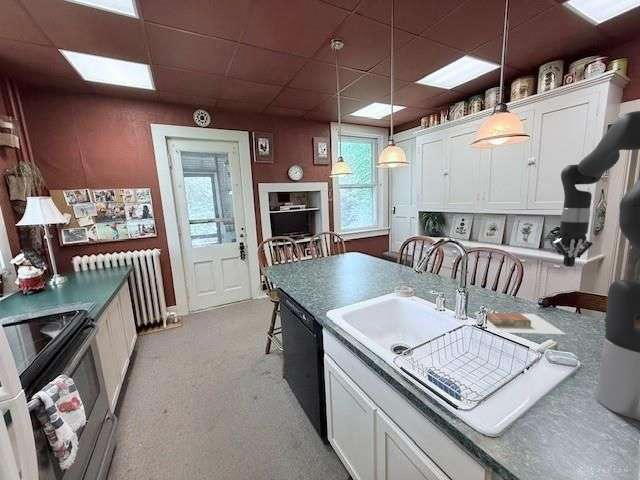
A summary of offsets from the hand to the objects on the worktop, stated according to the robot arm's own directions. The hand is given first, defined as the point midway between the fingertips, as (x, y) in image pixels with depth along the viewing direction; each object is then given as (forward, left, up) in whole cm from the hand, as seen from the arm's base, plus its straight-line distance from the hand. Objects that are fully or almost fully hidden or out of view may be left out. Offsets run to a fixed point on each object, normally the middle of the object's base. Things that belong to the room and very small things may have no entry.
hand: (568, 266), depth 100 cm
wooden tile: (+10, +4, -25) cm, 27 cm away
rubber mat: (+12, +7, -27) cm, 30 cm away
